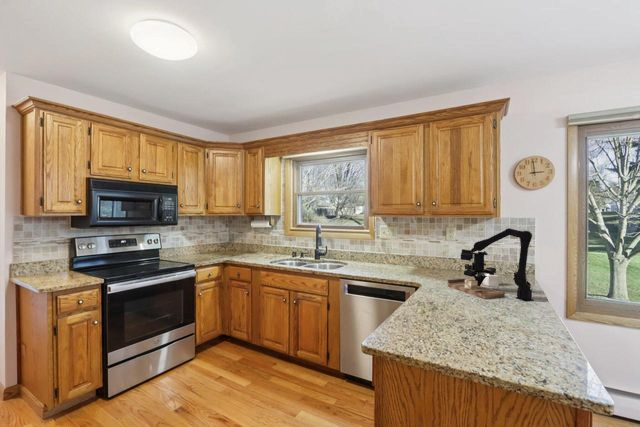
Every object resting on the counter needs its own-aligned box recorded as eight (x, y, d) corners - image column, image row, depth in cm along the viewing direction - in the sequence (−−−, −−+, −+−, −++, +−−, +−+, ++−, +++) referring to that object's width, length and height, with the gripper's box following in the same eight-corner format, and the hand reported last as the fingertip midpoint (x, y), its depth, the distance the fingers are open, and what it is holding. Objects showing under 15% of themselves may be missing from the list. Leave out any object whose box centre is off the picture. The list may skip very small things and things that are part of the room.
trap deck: (504, 297, 176) (504, 289, 176) (484, 299, 172) (484, 291, 172) (465, 284, 205) (465, 278, 205) (447, 286, 200) (447, 279, 200)
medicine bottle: (498, 286, 202) (499, 268, 202) (488, 286, 202) (488, 268, 202) (493, 283, 209) (493, 266, 209) (482, 283, 209) (483, 266, 209)
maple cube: (477, 288, 185) (477, 280, 185) (470, 289, 184) (470, 281, 184) (471, 286, 190) (471, 279, 190) (464, 287, 188) (464, 279, 188)
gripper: (480, 258, 197) (480, 282, 197) (457, 260, 191) (457, 284, 192) (494, 261, 186) (494, 286, 187) (470, 263, 181) (470, 288, 181)
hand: (478, 286), depth 187 cm, fingers closed
